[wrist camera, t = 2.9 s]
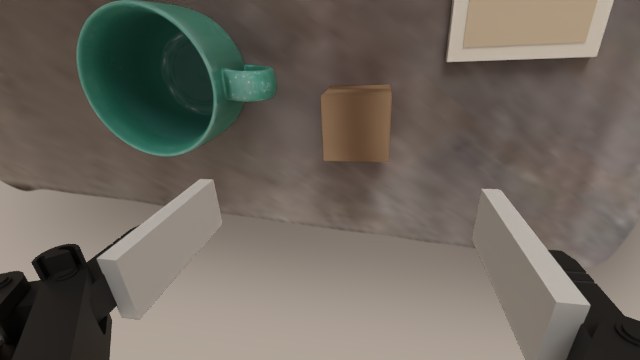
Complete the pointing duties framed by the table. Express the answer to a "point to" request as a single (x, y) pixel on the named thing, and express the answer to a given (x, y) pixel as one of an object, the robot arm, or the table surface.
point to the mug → (165, 75)
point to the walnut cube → (356, 123)
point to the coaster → (525, 29)
